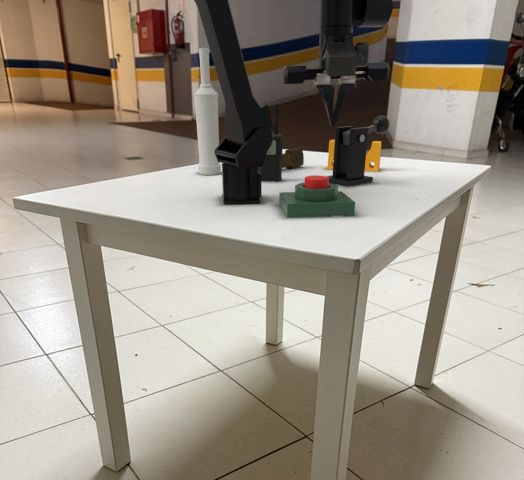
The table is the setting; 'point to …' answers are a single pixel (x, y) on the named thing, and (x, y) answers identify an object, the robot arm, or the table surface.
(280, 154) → the walkie-talkie
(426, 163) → the table surface
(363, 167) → the bracket
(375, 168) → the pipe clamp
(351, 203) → the button box
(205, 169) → the bottle
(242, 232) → the table surface
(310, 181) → the button
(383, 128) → the lever
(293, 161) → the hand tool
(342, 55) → the robot arm
